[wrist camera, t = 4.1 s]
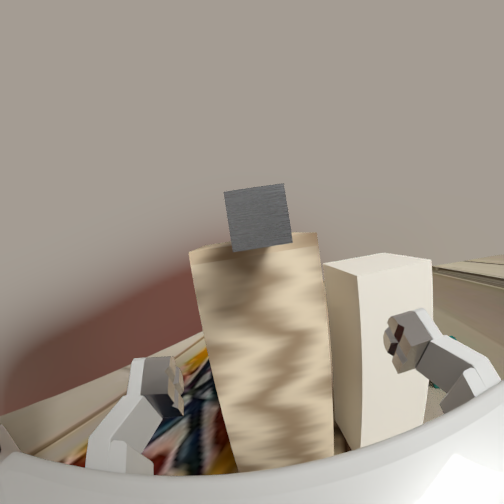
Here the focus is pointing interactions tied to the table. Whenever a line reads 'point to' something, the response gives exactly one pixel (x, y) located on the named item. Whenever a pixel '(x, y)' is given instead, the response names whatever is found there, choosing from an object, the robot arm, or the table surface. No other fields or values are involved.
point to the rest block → (374, 344)
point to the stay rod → (258, 217)
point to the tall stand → (268, 349)
